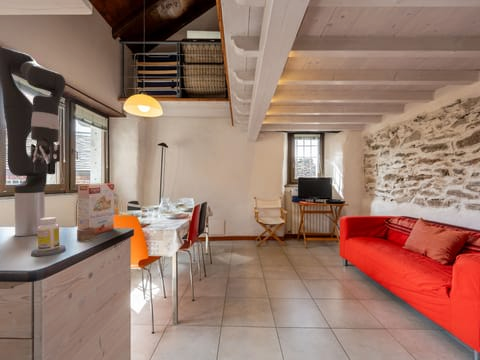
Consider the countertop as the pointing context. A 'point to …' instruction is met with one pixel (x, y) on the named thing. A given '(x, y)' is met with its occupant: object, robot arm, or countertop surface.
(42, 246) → the supplement bottle
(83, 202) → the cracker box
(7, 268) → the countertop surface
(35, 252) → the slate pad
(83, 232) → the walnut block
